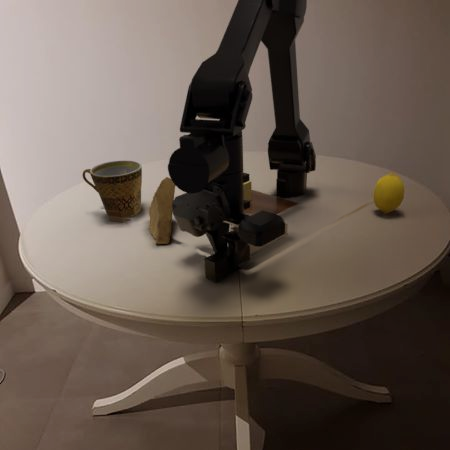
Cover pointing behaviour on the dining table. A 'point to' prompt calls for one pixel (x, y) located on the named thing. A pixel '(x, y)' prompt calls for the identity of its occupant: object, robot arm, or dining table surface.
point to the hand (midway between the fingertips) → (228, 265)
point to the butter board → (268, 203)
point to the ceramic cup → (118, 188)
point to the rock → (162, 211)
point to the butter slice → (247, 191)
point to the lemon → (388, 193)
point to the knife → (220, 262)
